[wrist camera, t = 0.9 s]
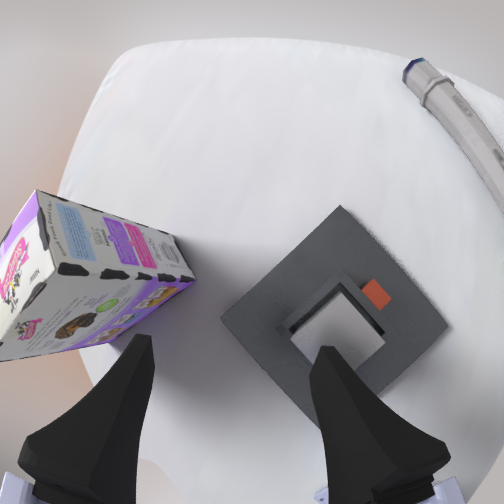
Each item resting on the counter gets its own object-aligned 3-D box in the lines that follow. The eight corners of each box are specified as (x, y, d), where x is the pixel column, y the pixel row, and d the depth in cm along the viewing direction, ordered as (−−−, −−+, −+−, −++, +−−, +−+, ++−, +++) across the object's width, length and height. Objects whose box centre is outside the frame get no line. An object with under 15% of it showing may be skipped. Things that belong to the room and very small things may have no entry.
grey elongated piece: (435, 51, 20) (584, 274, 12) (427, 92, 26) (547, 286, 18) (397, 62, 21) (555, 307, 13) (394, 105, 27) (517, 313, 19)
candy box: (171, 230, 29) (35, 182, 13) (199, 281, 28) (57, 271, 12) (88, 300, 31) (-34, 298, 15) (108, 345, 30) (-18, 366, 14)
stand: (444, 324, 21) (462, 330, 17) (324, 428, 23) (322, 450, 19) (339, 207, 25) (340, 193, 21) (223, 317, 27) (205, 321, 23)
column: (371, 327, 22) (386, 342, 16) (333, 361, 22) (333, 388, 16) (338, 290, 23) (341, 292, 17) (300, 324, 24) (288, 339, 17)
